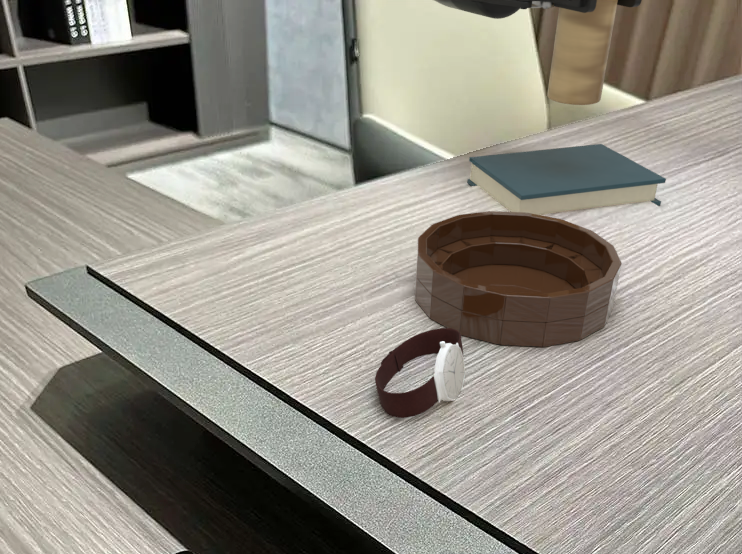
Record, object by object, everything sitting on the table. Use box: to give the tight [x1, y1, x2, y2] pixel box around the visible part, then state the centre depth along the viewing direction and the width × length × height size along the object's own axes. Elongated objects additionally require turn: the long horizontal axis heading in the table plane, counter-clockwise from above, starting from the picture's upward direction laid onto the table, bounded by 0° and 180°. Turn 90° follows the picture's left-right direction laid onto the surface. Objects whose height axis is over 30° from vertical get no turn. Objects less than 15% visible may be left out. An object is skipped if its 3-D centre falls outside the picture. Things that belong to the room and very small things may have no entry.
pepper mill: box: [546, 0, 618, 106], centre depth 65 cm, size 4×4×15 cm
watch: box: [374, 327, 466, 419], centre depth 46 cm, size 8×5×4 cm, turn 153°
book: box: [466, 143, 667, 216], centre depth 73 cm, size 14×10×2 cm
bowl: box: [414, 210, 623, 348], centre depth 55 cm, size 13×13×4 cm
